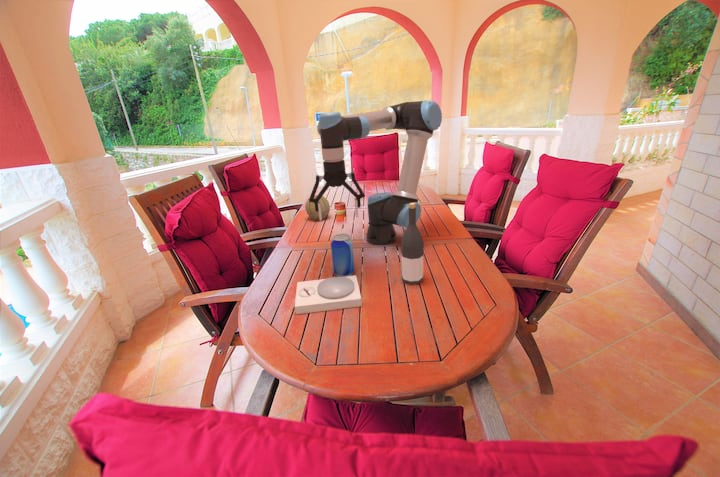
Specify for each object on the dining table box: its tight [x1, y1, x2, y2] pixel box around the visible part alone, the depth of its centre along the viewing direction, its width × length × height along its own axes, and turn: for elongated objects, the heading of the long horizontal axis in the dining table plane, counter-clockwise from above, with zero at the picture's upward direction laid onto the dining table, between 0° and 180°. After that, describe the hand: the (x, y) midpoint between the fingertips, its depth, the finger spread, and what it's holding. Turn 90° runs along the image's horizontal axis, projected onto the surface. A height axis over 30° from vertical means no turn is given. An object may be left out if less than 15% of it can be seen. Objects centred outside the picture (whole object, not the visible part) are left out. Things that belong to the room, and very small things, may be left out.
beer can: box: [330, 233, 355, 277], centre depth 125 cm, size 8×8×16 cm
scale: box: [294, 275, 363, 315], centre depth 111 cm, size 22×16×4 cm
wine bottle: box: [400, 203, 425, 286], centre depth 114 cm, size 8×8×30 cm
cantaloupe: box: [305, 194, 331, 220], centre depth 191 cm, size 15×15×15 cm
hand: (338, 217), depth 118 cm, fingers open, 13 cm apart
